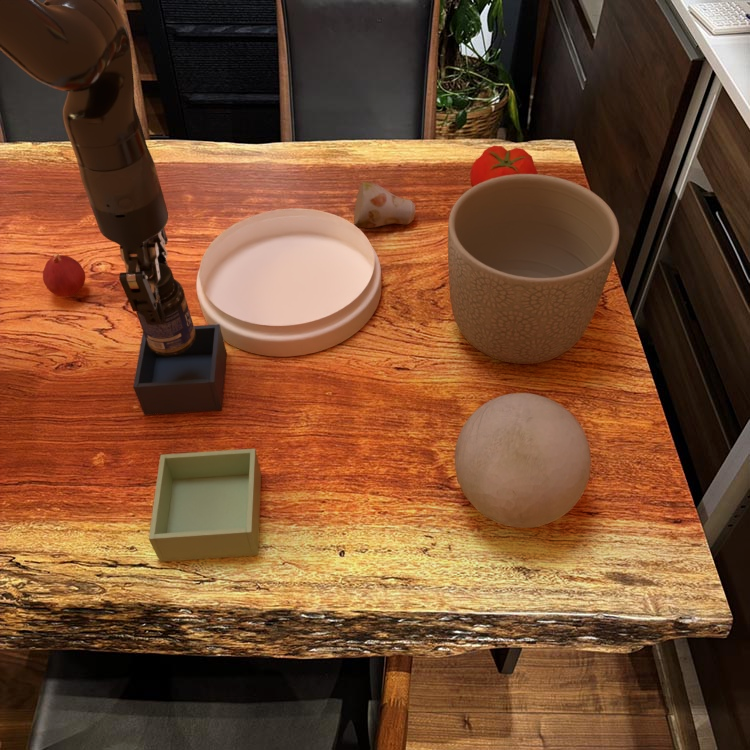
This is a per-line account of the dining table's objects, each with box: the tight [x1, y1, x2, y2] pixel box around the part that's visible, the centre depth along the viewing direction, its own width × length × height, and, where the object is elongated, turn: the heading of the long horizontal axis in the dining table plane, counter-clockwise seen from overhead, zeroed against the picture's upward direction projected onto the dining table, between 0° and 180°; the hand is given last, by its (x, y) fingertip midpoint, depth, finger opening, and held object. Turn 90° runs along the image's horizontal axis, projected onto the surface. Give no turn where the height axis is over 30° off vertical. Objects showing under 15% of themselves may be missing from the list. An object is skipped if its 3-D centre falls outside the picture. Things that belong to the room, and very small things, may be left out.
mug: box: [353, 181, 416, 229], centre depth 128 cm, size 8×10×10 cm
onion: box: [42, 253, 87, 298], centre depth 118 cm, size 6×6×8 cm
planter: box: [447, 173, 620, 365], centre depth 106 cm, size 21×21×19 cm
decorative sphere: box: [454, 392, 592, 529], centre depth 90 cm, size 15×15×15 cm
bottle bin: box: [132, 324, 228, 416], centre depth 106 cm, size 10×10×6 cm
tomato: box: [470, 145, 539, 188], centre depth 131 cm, size 11×11×8 cm
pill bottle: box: [135, 263, 196, 356], centre depth 98 cm, size 6×6×11 cm
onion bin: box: [148, 448, 262, 563], centre depth 93 cm, size 11×11×5 cm
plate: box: [195, 207, 382, 358], centre depth 118 cm, size 27×27×6 cm
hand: (160, 302), depth 97 cm, fingers closed on pill bottle, 6 cm apart
